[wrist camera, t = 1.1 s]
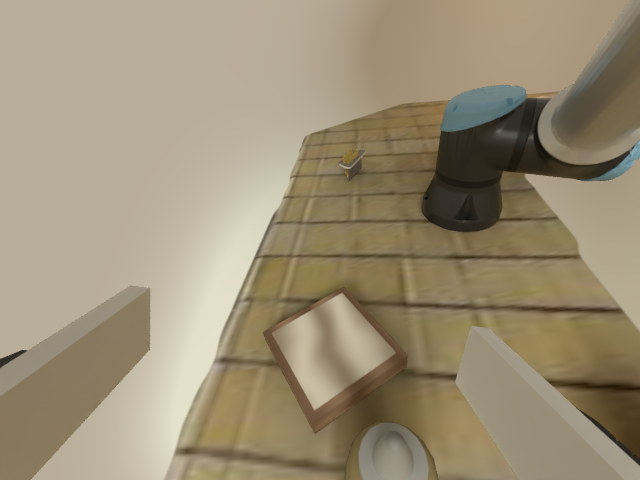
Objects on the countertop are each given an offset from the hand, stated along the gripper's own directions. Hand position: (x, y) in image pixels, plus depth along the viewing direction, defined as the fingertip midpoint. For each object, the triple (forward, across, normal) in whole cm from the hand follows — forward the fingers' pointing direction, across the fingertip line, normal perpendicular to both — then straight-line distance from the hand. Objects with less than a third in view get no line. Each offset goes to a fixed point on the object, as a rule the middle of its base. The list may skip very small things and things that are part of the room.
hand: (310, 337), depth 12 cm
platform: (+72, +10, +6) cm, 73 cm away
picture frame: (+26, +5, -18) cm, 32 cm away
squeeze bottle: (+11, +11, -24) cm, 29 cm away
